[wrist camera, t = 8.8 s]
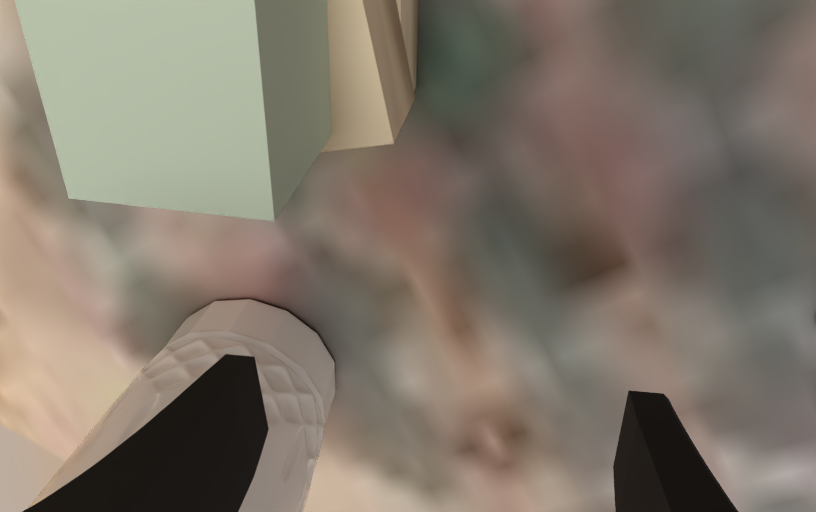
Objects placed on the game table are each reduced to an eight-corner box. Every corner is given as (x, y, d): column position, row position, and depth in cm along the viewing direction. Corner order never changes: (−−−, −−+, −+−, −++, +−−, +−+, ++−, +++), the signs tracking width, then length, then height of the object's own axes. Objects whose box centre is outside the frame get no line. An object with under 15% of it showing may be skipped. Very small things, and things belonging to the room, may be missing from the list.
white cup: (131, 310, 28) (-46, 520, 19) (294, 262, 25) (169, 483, 17) (229, 442, 31) (115, 669, 23) (383, 413, 28) (315, 658, 20)
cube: (325, -55, 13) (253, -13, 10) (331, 134, 16) (274, 221, 12) (134, -67, 14) (6, -29, 11) (166, 119, 16) (69, 198, 13)
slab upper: (363, -165, 15) (327, -162, 12) (415, 98, 18) (393, 143, 15) (126, -109, 16) (50, -96, 14) (210, 125, 19) (161, 170, 17)
